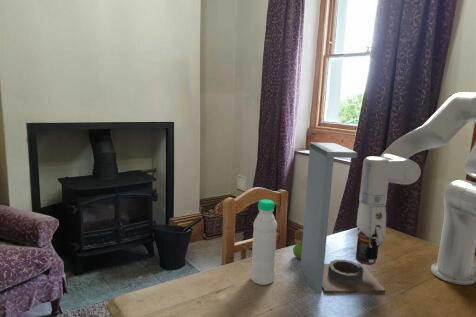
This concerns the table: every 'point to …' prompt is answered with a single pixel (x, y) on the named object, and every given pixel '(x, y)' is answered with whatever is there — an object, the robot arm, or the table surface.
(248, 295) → the table surface
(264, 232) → the water bottle
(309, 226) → the grey l-shaped stand
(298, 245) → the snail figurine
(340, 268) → the socket
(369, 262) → the supplement bottle
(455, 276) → the robot arm
